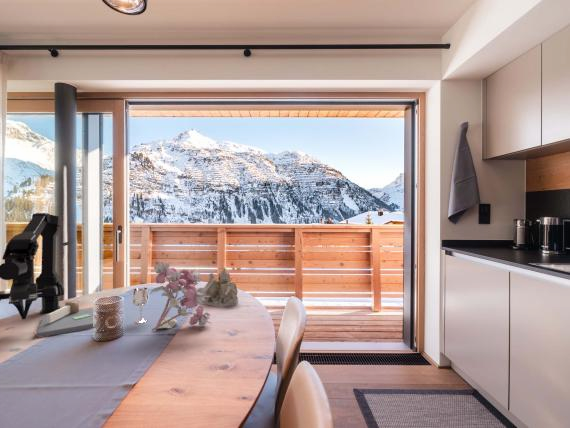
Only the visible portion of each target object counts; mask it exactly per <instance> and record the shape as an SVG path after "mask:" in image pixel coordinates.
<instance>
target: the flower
mask: <svg viewBox="0 0 570 428" xmlns="http://www.w3.org/2000/svg"><path fill="white" fill-rule="evenodd" d="M156 262H157V264H154V265H153V270H154V272H155V273H156V274H157V275H156V276H155V284H161V285H160V286H157V287H155V288H153V289H151V292H149V294H150V295H151V294H152V293H154V292H155V293H156V292H159V291H160V290H162V291H164V292H162V294H160V295H161V297H167V301H166V304H165V307H164V309H163V311H162V313H161V315H160V317H159V320H158V321H157V323H156V325H155V327H152V328H151V331H152V332H154V331H157V330H158V329H169V330H170V329H172V328H174V327H175V326H176V324H177V323H178V320H177V319H175V318H177V317H179V316H180V317H181V316H183V317H185V316H187V315H188V314H191V315H193V316H192V317H190V320H189V321H188V323H189V325H190V326H194V325H196V324H197V323H198V326H199V327H202V328H204V327H205V326H206V324H208V323H209V324H212V322H210V321H209V319H210V316H211V314H210V313H209V312H204V307H202V306H201V305H204V303H203V302H202V301H206V300H204V299H205V297H210V296H204V295H205V293H206V291H205V290H204V289H205V288H204V287H198V289H197V287H196V285H199V283H200V282H201V281H202V274H201V272H200V271H199V272H198V271H195V270H196V269H195V268H193V269H192V270H190V271H189V269H186V268H184V269H181V270H179V271H177V269H176V268H175V267H170V263H169V262H167V261H166V260H165V261H163V260H162V261H161V263H160V262H158V259H156ZM166 281H168V283H167V284H166V285H165V286H164V285H162V284H165V283H166ZM180 291H181V292H182V293H183V296H181V297H178V295H179V294H178V293H179V292H180ZM175 293H176V294H175ZM174 294H175V296H174ZM177 297H178V298H177ZM203 298H204V299H203ZM198 305H200V306H198ZM196 306H198V307H197V308H196V309H195V311H196V312H195V313H193V312H192V311H191V312H190V311H189V312H187V309H192V308H193V307H196ZM172 308H175V309H177V315H174V316H172V317H167V315H168V313H169V312H170V311H171V309H172Z"/></svg>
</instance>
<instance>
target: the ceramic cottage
mask: <svg viewBox="0 0 570 428" xmlns="http://www.w3.org/2000/svg"><path fill="white" fill-rule="evenodd" d="M208 276H209V277H208V281H207V283H206V284H205V286H204V287H203V288H205V289H204V290H205V291H206V293H205V295H204V296H210V297H205V299H204V298H203V299H204V300H206V301H202V302H203V303H204V304H203V305H204V306H213V307H220V308H221V307H222V308H224V307H225V308H227V307H230V306H236V305H238V304H239V297H238V289H237V283H236V282H233V281H232V280H231V275H230V272H227V268H226V267H223V268H222V270H221V273H218V278H217V279H218V281H216V280H215V277H214V276H215V275H214V273H213V272H210V273H209V275H208Z"/></svg>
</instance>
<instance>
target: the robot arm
mask: <svg viewBox="0 0 570 428" xmlns="http://www.w3.org/2000/svg"><path fill="white" fill-rule="evenodd" d="M63 224H64V223H63V219H62V217H60V216H59V215H54V214H50V213H48V212H35V213H33V214H32V215H31V219H30V221H28V223H27V224H26V226H25V228H24V229H23V230H22V232H21V233H18V234H16V235H14V236H12V238H10V239H9V241H8V242H7V244H6V247H5V250H4V252H3V255H2V260H3V261H4V262H3V263H1V264H0V279H2V280H4V281H12V283H11V286H10V291H9V292H8V293H6V292H5V291H4V290H3V291H2V290H1V291H0V301H2V300H7V299H8V301H9V302H8V304H9V305H11V304H12V305H13V306H14V307H15V308H16V310H17V311H18V313H19V315H20V318H21V320H26V318H27V316H28V313H29V310H30V308H31V306H32V304H33V302H35V301H37V300H38V299H39V298H41V309H40V311H39V314H49V313H52V312H54V311H56V310H58V309H60V308H62V307H61V305H60V298H59V297H61V296H64V295H65V288H64V285H63V283H62V281H61V276H60V275H59V274H58V273H57V270H56V267H57V265H56V263H57V262H56V259H57V258H56V257H57V236H58V235H59V234H60V232H61V231H62V227H63ZM40 236H41V269H40V270H41V273H40V274H39V275H38V276H37V277H36V278H35V265H34V264H35V263H34V262H35V260H36V259H35V258H36V257H35V256H36V255H37V252H38V249H39V246H40V245H39V242H38V238H39V237H40Z"/></svg>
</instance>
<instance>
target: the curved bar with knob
mask: <svg viewBox="0 0 570 428" xmlns="http://www.w3.org/2000/svg"><path fill="white" fill-rule="evenodd" d="M64 305H65V306H63V307H60V309H58V310H56V311H54V312H48V313H46V314H47V323H52V322H54V321H56V320H58V319H60V318H62V317H63V316H65V315H67V314H74V313H77V312H79V310H80V302H79V300H70V301H66V302H65V304H64Z"/></svg>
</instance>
